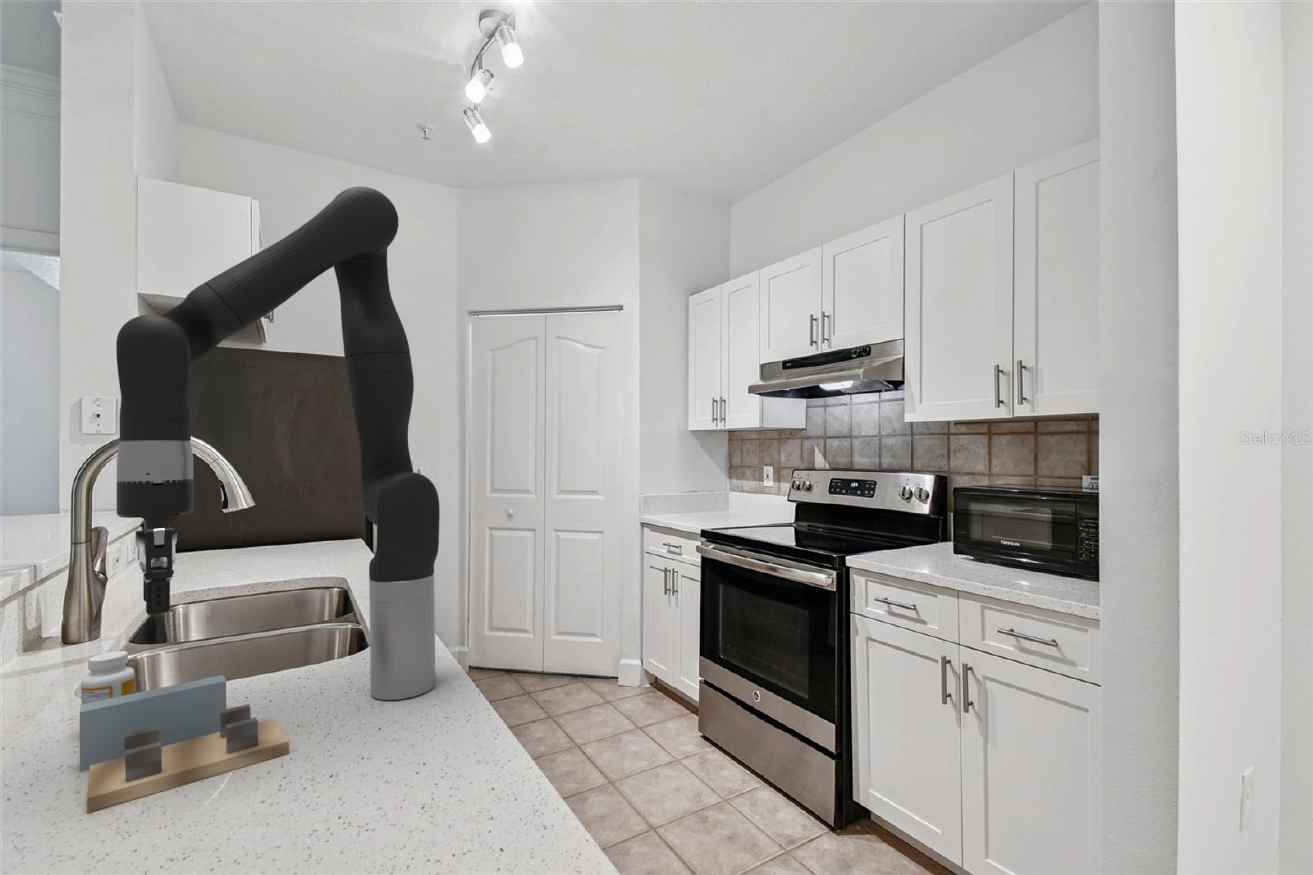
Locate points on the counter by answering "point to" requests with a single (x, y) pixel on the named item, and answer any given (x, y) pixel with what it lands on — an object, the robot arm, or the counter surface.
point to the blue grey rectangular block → (150, 717)
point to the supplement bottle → (107, 677)
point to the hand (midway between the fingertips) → (156, 606)
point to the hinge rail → (183, 758)
